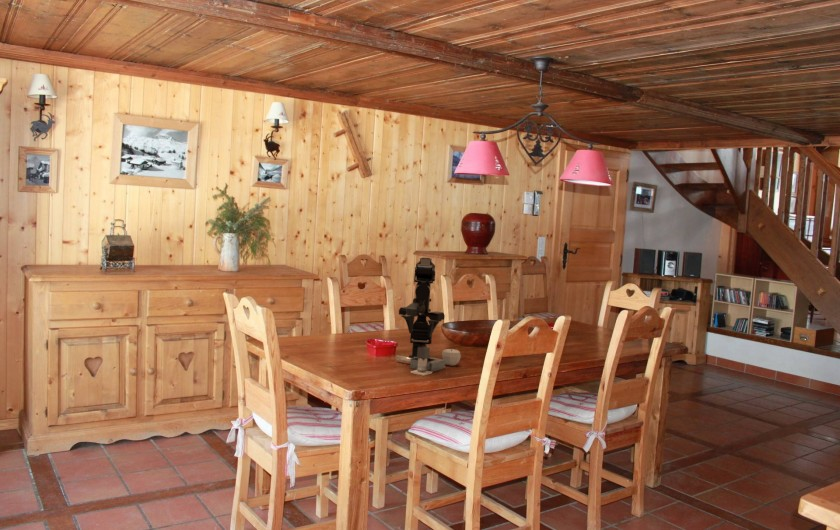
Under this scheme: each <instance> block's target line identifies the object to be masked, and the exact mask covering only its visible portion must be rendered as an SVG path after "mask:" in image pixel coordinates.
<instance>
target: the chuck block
mask: <svg viewBox="0 0 840 530" xmlns="http://www.w3.org/2000/svg"><path fill="white" fill-rule="evenodd" d="M395 359H396V360H397V361H402V362H408V363H410V365H409V368H410V369H413V370H417V368H418V357H409V356H403V355H398V354H397V355H396V356H395ZM445 366H446V364H445V360H443V359H442V358H437V357H432V356H429V358H427V366H426V371H431V372H432V373H434V372H436V371H437V372H438V371H441V370H444V369H445V368H446V367H445Z"/></svg>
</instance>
